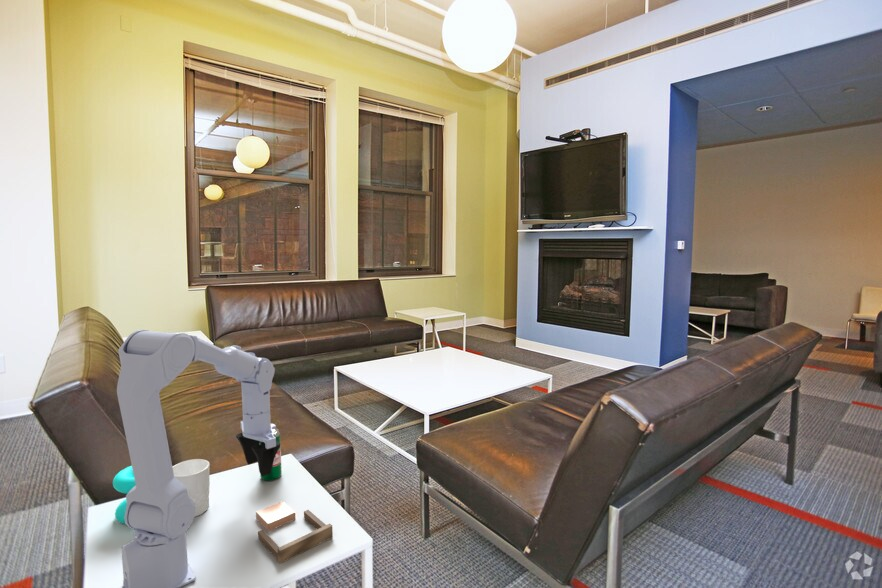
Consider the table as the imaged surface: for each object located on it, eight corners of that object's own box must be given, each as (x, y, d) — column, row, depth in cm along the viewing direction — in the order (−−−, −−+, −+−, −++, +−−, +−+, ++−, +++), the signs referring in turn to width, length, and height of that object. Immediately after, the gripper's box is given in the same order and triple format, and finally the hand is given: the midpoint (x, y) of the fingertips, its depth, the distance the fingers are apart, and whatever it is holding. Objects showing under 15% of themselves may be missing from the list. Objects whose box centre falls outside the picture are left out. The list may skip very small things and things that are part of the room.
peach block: (268, 533, 95) (268, 523, 94) (256, 520, 99) (255, 511, 99) (295, 520, 99) (295, 512, 99) (282, 509, 103) (282, 500, 103)
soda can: (274, 482, 113) (272, 436, 112) (256, 480, 114) (254, 434, 113) (285, 473, 118) (284, 428, 117) (267, 471, 119) (266, 426, 118)
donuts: (171, 471, 99) (114, 487, 92) (173, 515, 100) (118, 533, 94) (162, 455, 106) (110, 468, 100) (165, 495, 108) (113, 511, 101)
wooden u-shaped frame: (280, 563, 85) (279, 550, 85) (258, 538, 92) (257, 526, 92) (332, 537, 93) (332, 525, 92) (308, 516, 100) (307, 505, 99)
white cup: (169, 508, 103) (166, 465, 101) (207, 496, 107) (205, 455, 106) (174, 525, 96) (171, 480, 95) (215, 512, 101) (212, 469, 100)
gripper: (288, 414, 100) (290, 473, 101) (260, 398, 110) (262, 452, 111) (256, 423, 95) (258, 485, 96) (230, 405, 105) (232, 461, 107)
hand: (258, 468), depth 104 cm, fingers open, 7 cm apart
